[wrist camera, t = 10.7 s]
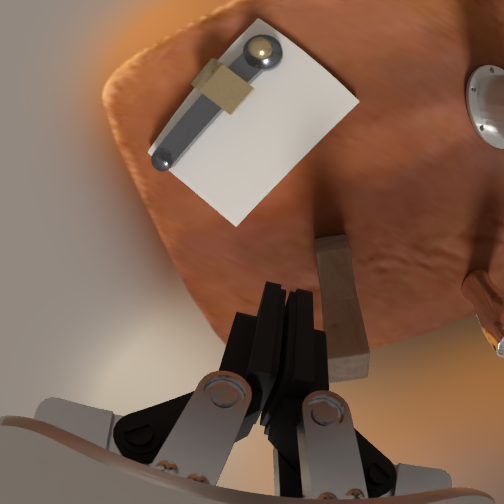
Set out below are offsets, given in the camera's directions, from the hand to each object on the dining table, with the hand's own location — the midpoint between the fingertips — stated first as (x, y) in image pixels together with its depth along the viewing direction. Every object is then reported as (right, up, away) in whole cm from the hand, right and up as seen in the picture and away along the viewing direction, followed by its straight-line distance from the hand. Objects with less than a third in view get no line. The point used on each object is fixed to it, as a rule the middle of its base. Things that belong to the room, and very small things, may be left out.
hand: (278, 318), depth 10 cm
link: (-5, +20, +21) cm, 30 cm away
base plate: (-1, +19, +24) cm, 30 cm away
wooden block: (+11, +1, +31) cm, 33 cm away
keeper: (-2, +24, +19) cm, 31 cm away
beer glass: (+38, -3, +29) cm, 47 cm away
